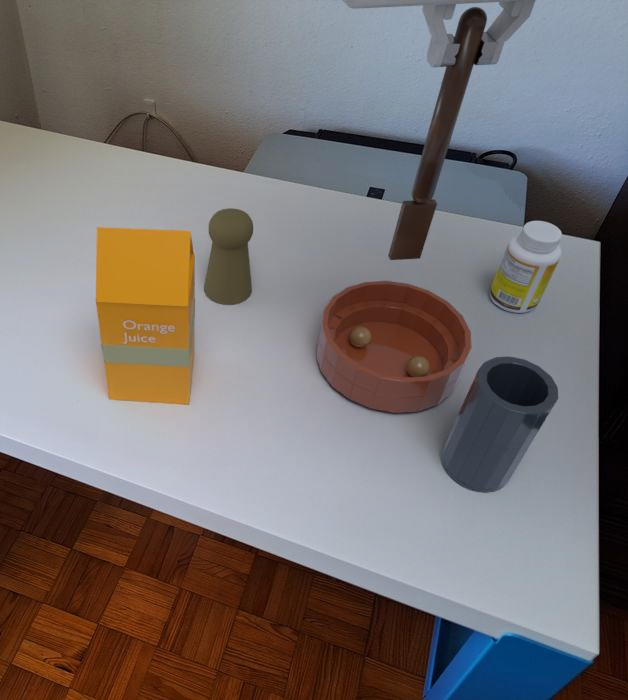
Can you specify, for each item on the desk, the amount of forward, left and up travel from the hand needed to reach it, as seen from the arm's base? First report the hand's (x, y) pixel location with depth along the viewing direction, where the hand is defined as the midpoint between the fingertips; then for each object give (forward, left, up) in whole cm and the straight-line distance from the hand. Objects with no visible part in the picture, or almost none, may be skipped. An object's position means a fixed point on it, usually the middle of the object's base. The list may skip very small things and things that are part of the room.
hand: (461, 62), depth 50 cm
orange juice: (+24, -2, -35) cm, 42 cm away
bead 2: (-5, 0, -33) cm, 33 cm away
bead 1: (0, -5, -33) cm, 33 cm away
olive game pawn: (+14, -16, -35) cm, 41 cm away
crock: (-7, +12, -35) cm, 37 cm away
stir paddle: (0, 0, -18) cm, 18 cm away
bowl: (-2, -2, -35) cm, 35 cm away
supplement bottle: (-20, -11, -35) cm, 42 cm away
